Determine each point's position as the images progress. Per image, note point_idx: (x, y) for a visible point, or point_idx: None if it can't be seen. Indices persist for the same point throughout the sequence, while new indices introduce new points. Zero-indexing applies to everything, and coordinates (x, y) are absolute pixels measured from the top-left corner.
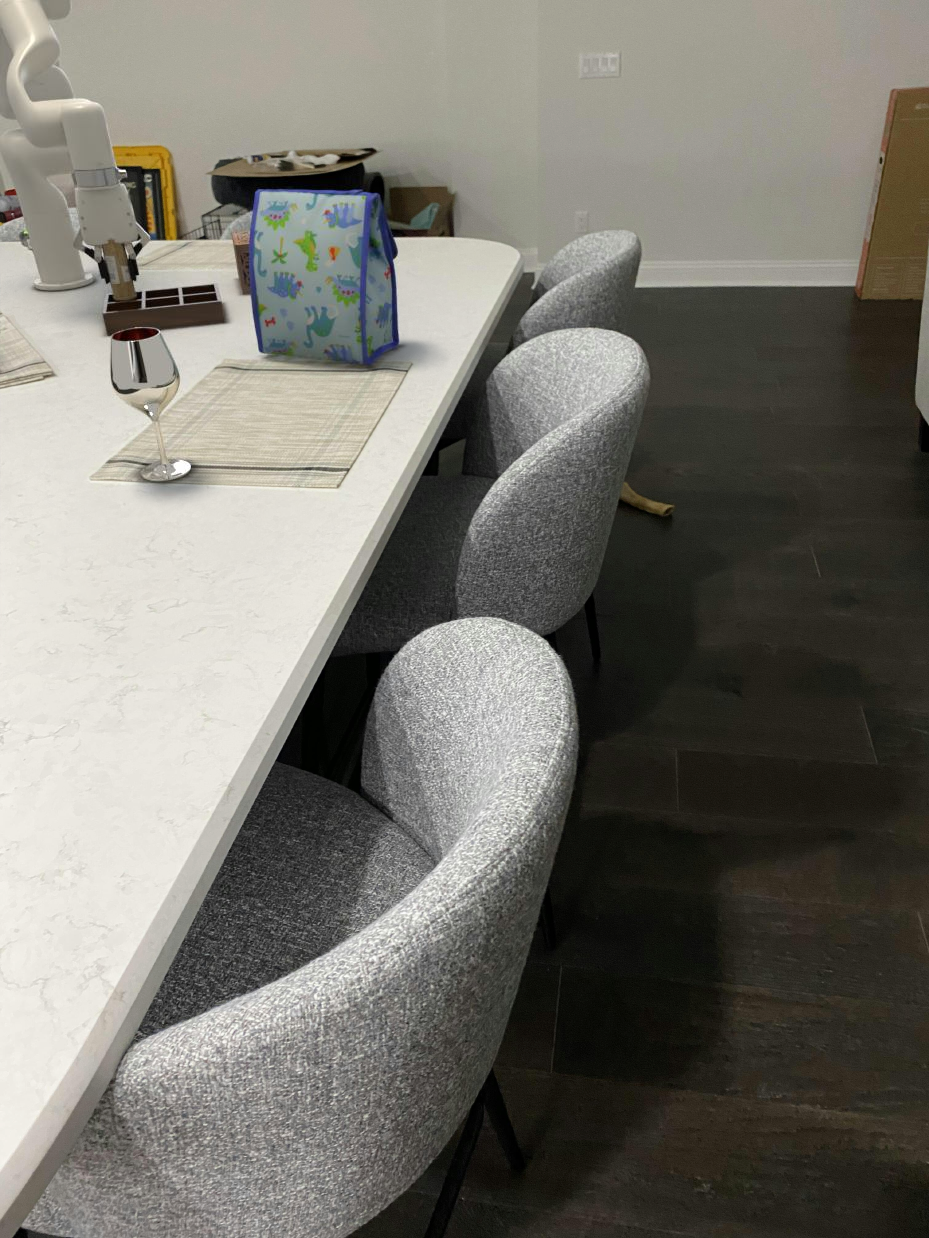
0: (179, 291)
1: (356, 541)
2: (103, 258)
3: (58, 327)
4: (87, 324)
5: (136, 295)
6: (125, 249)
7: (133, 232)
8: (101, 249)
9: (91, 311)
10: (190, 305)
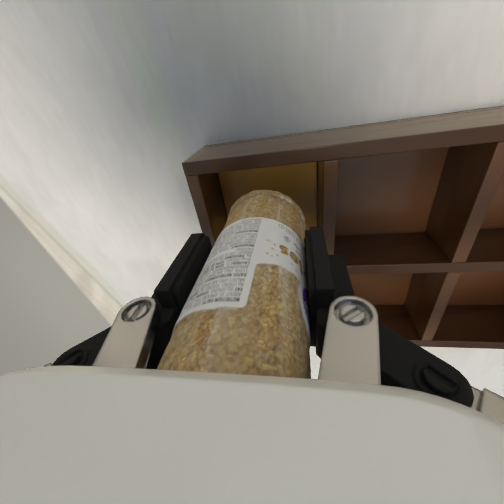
0: (476, 210)
1: None
2: (174, 324)
3: (113, 223)
4: (172, 220)
5: (304, 232)
6: (310, 372)
7: None
8: (147, 359)
9: (120, 67)
10: (447, 345)
